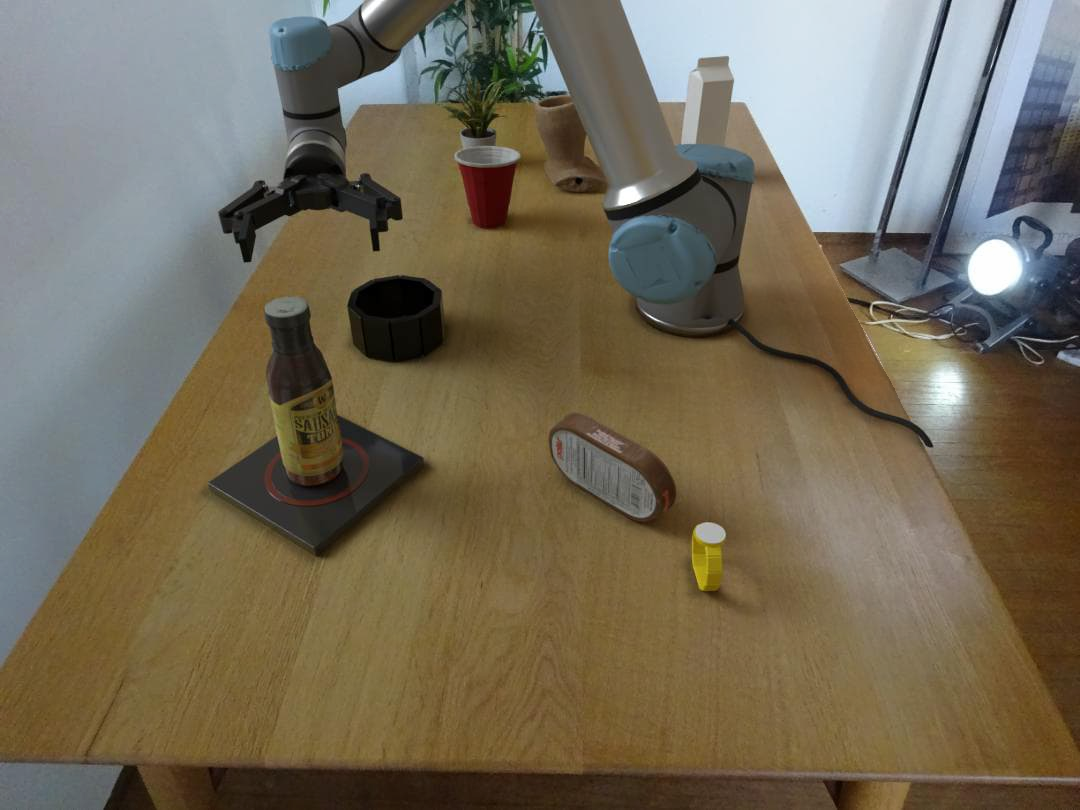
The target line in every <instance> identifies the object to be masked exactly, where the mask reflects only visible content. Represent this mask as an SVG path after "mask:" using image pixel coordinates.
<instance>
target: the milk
mask: <svg viewBox="0 0 1080 810" xmlns="http://www.w3.org/2000/svg"><path fill="white" fill-rule="evenodd" d="M729 63H730V56H728V55H723V56H721V55H720V56H710V57H709V56H707V57H699V58H698V60H697V64H696V65H697V66H696V67H695V68H694V69H692V70H691V71H689V73H688V80H687V88H686V89H687V90H686V98H685V104H684V105H685V108H684V114H683V115H684V116H683V123H682V131H681V139H680V145H682V144H707V145H716V146H722V147H725V143H726V136H727V130H728V123H729V117H730V110H731V102H732V96H733V89H734V83H735V78H734V75H733V73H732V71H731V68H730V66H729Z"/></svg>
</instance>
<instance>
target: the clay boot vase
mask: <svg viewBox="0 0 1080 810" xmlns="http://www.w3.org/2000/svg"><path fill="white" fill-rule="evenodd" d="M534 116H535V124H536V128H537V131H538V133H539V136H540V138H541V141H542V143H543V146H544V149H545V152H546V155H547V159H545V161H544V162H543V163H544V164H543V166H544V167H543V168H544V171H545V174H546V175H547V176H548V178H549V179H550V181H551V183H552V184H553V185H554V186H555V187H558V188H560V189H562V190H565V191H568V192H573V193H582V192H583V193H584V192H590V191H594V190H597V189H601V188H603V187H604V186H605V185H607V182H606V180H605V177H604V175H603V173H602V171H601V170H600V169H599V167H598V166H597V164H596V163H595V162H594V161H593V159H591V158H590V157H589V156H586V155H585V145H586V138H587V134H586V132H585V129H584V127H583V125H582V122H581V120H580V117H579V115H578V113H577V110H576V108H575V105H574V103H573V101H572V98H571V96H570V93H569V94H567V93H566V94H559V95H555V96H554V95H553V96H548V97H545V98H542V99H540V100H538V101H537V102H536V103H535V105H534Z"/></svg>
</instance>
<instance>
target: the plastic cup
mask: <svg viewBox="0 0 1080 810" xmlns="http://www.w3.org/2000/svg"><path fill="white" fill-rule="evenodd" d="M454 159H455V161H456V163H457V165H458V168H459V171H460V175H461V177H462V183H463V187H464V191H465V196H466V201H467V205H468V208H469V212H470V217H471V221H472V223H473V225H474V226H475V227H478V228H480V229H485V230H489V229H490V230H492V229H497V228H501V227H502V226H504V225H505V224H506V223H507V219H508V215H509V207H510V204H511V197H512V191H513V185H514V179H515V174H516V170H517V167H518V166H517V165H518V163H519V160H521V153H520V152H519V151H517V150H516V149H513V148H510V147H505V146H497V145H495V146H477V147H469V148H465V149H463V148H462V149H459V150H457V151H456V152H455V153H454Z"/></svg>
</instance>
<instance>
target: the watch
mask: <svg viewBox="0 0 1080 810" xmlns="http://www.w3.org/2000/svg"><path fill="white" fill-rule="evenodd" d="M726 540H727V533H726V530H725V529H724V528H723V527H722V526H721V525H719V524H717V523H714V522H711V521H710V522H709V521H705V522H701V523H699V524H697V525H695V527H694V528H693V531H692V536H691V560H692V568H693V572H694V575H695V578H696V581H697V585H698V589H699V590H700V591H703V592H713V591H714V592H715V591H718V590H719V588H720V586H721V585H722V584H721V583H722V578H723V552H722V547H723V545H724V544H726V543H725V542H726Z"/></svg>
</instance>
